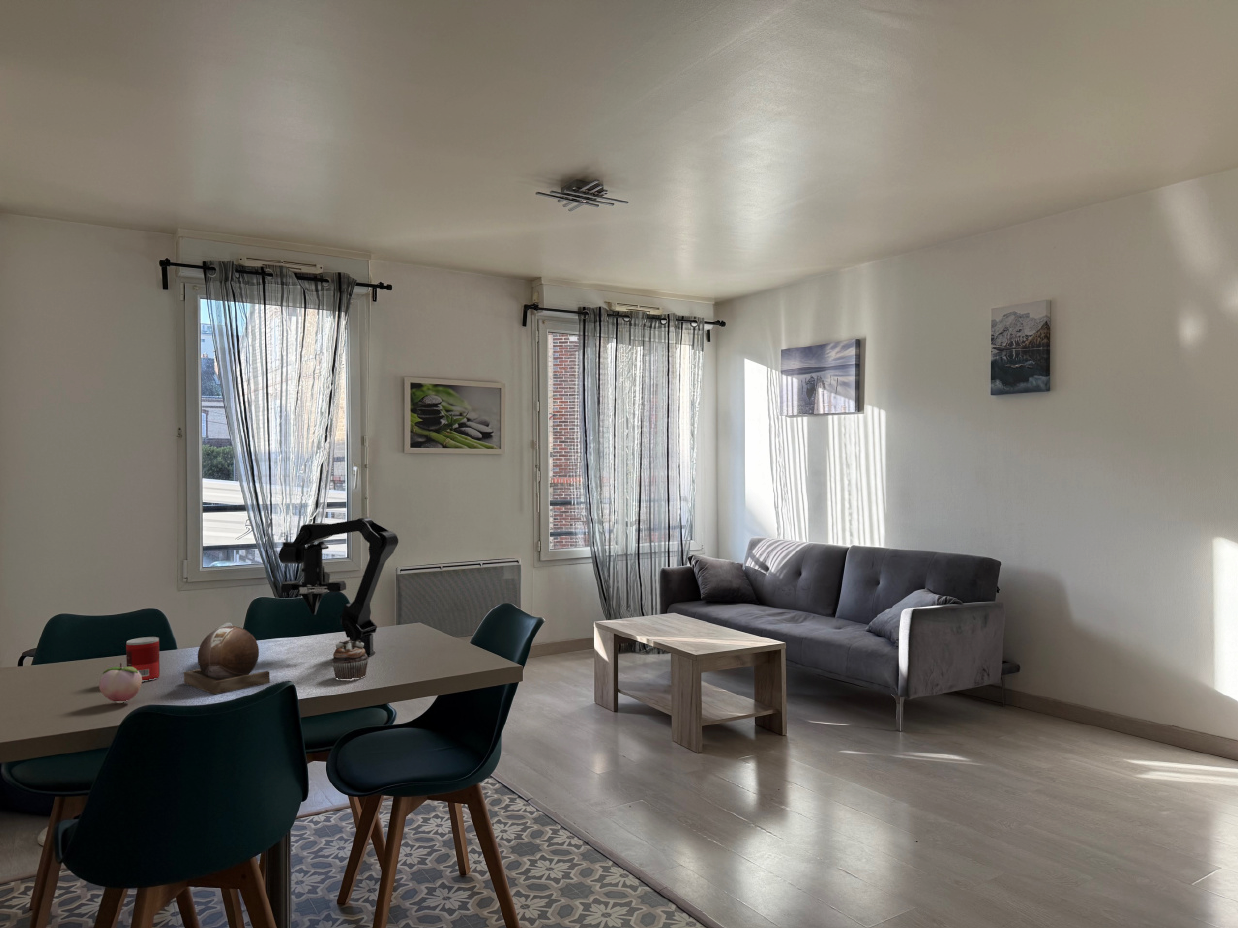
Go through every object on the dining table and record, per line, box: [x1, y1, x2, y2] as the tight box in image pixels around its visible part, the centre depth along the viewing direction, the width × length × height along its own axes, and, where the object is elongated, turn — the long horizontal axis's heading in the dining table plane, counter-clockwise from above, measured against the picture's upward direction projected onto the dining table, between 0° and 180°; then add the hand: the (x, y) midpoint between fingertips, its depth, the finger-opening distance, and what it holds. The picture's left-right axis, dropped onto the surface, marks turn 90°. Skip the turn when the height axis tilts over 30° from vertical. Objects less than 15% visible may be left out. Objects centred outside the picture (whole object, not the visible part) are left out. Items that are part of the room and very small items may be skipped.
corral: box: [183, 668, 271, 695], centre depth 231 cm, size 14×19×3 cm
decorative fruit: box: [98, 662, 143, 702], centre depth 212 cm, size 9×8×10 cm
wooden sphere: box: [197, 625, 260, 681], centre depth 231 cm, size 15×15×15 cm
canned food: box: [125, 636, 161, 680], centre depth 237 cm, size 8×8×11 cm
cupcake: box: [331, 639, 370, 679], centre depth 234 cm, size 10×10×10 cm
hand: (313, 614), depth 265 cm, fingers closed
